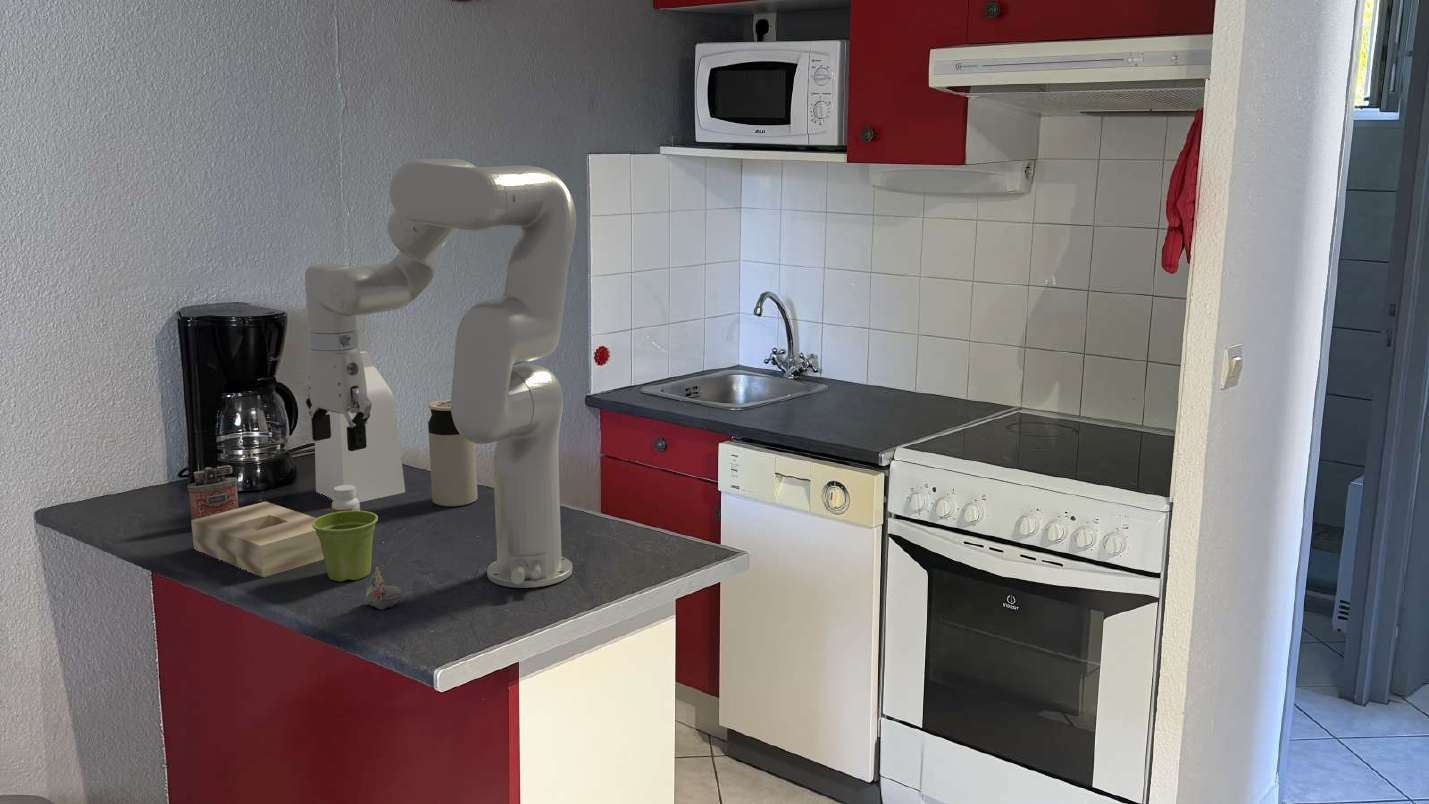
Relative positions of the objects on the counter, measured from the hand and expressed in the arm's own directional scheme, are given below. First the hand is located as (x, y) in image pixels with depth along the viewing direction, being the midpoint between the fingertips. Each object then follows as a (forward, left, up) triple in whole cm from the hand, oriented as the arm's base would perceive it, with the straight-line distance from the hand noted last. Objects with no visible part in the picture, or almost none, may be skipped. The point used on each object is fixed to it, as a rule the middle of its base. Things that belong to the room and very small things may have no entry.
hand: (339, 444), depth 202 cm
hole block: (-9, +11, -15) cm, 21 cm away
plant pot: (-21, -4, -15) cm, 26 cm away
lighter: (+7, +23, -15) cm, 28 cm away
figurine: (-34, -11, -15) cm, 39 cm away
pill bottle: (0, 0, -15) cm, 15 cm away
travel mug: (+16, -16, -15) cm, 27 cm away
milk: (+24, +2, -15) cm, 28 cm away
